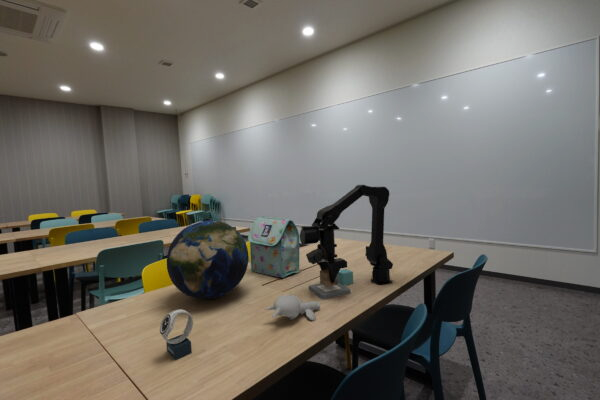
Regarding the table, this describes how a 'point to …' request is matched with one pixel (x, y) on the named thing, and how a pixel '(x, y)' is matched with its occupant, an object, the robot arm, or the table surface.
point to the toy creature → (293, 307)
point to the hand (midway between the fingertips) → (328, 281)
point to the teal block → (345, 277)
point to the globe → (207, 259)
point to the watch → (180, 343)
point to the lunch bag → (274, 247)
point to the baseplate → (329, 290)
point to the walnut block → (326, 278)
